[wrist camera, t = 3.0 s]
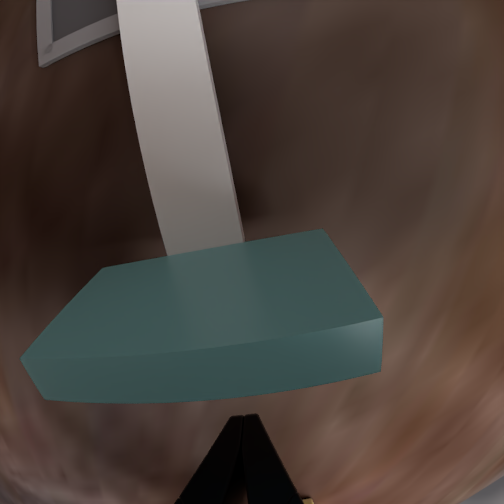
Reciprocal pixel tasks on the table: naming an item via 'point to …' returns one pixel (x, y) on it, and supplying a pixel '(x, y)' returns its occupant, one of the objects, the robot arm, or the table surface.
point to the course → (80, 25)
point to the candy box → (307, 501)
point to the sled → (201, 263)
